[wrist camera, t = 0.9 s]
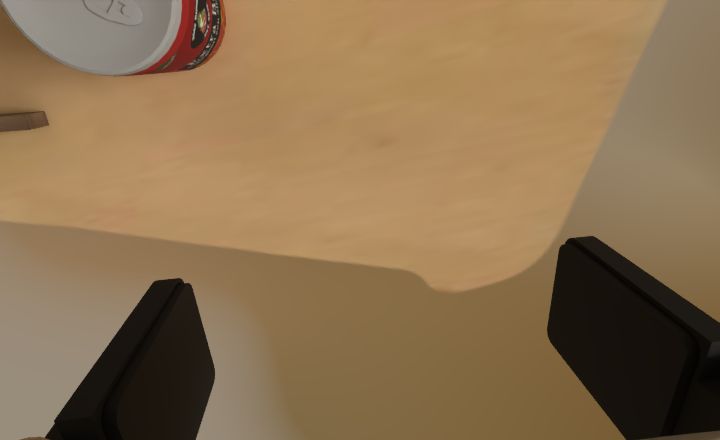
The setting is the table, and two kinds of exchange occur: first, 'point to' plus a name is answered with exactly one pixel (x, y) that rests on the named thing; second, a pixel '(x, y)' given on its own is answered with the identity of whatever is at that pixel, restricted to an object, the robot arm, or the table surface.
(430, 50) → the table surface
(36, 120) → the walnut frame
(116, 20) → the canned food
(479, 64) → the table surface
